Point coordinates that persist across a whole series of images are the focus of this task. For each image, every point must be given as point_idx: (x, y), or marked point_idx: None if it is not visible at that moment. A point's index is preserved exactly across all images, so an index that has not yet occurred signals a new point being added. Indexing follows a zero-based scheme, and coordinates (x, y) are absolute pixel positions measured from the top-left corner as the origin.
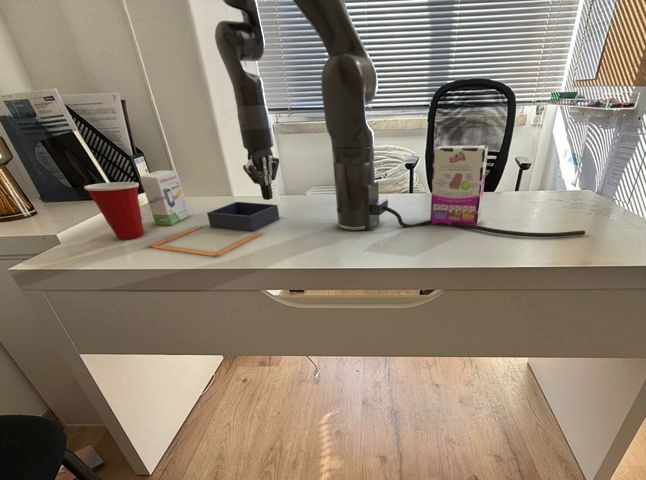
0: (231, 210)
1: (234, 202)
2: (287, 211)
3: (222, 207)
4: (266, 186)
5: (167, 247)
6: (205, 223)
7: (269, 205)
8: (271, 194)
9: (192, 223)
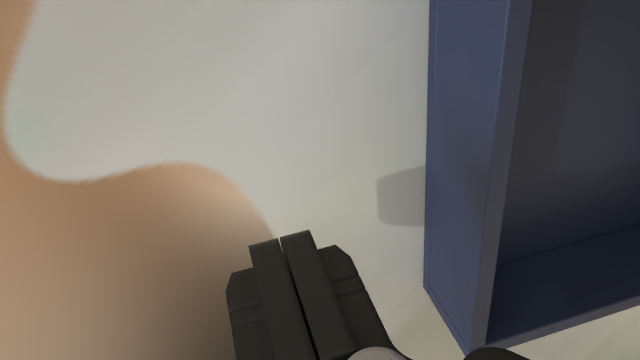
0: (531, 291)
1: None
2: (167, 40)
3: (626, 303)
4: (354, 348)
5: None
6: None
7: (526, 28)
8: (269, 268)
9: (605, 328)
